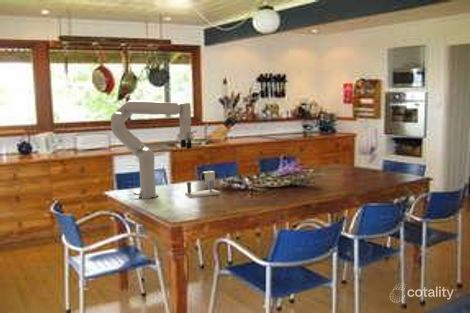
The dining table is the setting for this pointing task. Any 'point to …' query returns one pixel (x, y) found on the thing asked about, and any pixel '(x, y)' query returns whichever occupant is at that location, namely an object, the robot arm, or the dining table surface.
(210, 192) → the pitch plate
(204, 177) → the pneumatic valve
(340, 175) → the dining table surface
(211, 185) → the slider leg
